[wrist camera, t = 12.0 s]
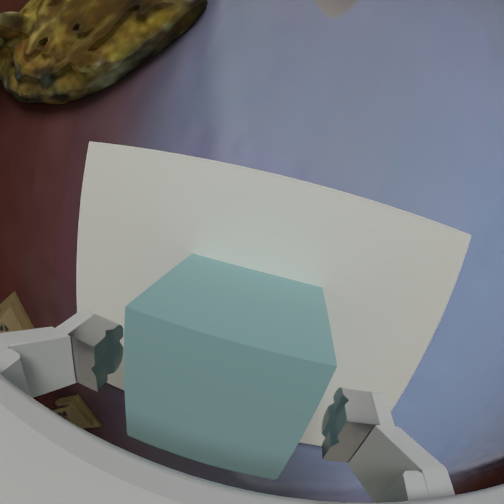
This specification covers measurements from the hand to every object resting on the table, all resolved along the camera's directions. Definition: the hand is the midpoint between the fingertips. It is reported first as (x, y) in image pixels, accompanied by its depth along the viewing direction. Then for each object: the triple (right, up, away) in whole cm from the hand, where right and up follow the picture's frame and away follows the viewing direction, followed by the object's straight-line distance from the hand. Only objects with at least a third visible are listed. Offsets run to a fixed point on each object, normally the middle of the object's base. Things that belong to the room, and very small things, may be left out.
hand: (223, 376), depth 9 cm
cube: (0, +1, +3) cm, 3 cm away
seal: (-8, +16, +2) cm, 18 cm away
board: (+1, +1, +4) cm, 4 cm away
